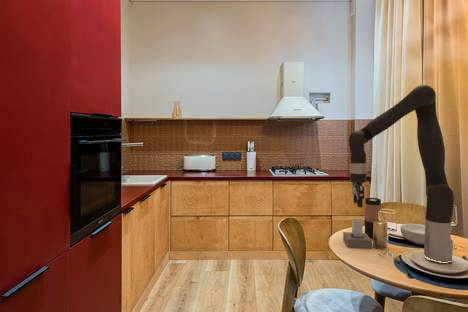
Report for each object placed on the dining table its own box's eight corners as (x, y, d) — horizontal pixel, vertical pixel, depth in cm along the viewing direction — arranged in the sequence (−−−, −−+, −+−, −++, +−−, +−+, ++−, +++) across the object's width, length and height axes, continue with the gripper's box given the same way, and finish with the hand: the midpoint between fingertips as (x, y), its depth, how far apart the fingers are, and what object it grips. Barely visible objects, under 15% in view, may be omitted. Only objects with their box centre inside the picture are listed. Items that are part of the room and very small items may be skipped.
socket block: (365, 240, 153) (365, 233, 152) (371, 248, 142) (372, 240, 142) (343, 239, 155) (343, 232, 154) (347, 247, 144) (347, 239, 143)
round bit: (384, 244, 147) (385, 220, 146) (388, 249, 141) (389, 224, 140) (371, 244, 148) (372, 220, 147) (374, 248, 142) (375, 223, 141)
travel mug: (361, 234, 162) (362, 198, 161) (373, 233, 164) (374, 197, 162) (370, 239, 155) (371, 201, 153) (383, 238, 156) (384, 200, 155)
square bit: (360, 242, 150) (360, 219, 149) (362, 245, 146) (362, 221, 145) (351, 242, 150) (352, 219, 150) (353, 245, 147) (353, 221, 146)
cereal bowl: (420, 249, 140) (420, 235, 140) (392, 238, 156) (392, 224, 156) (448, 246, 145) (448, 231, 144) (418, 235, 161) (419, 222, 160)
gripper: (370, 174, 138) (369, 208, 139) (362, 170, 152) (362, 202, 153) (353, 174, 139) (352, 208, 141) (347, 170, 153) (346, 201, 155)
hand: (357, 205), depth 147 cm, fingers open, 8 cm apart
